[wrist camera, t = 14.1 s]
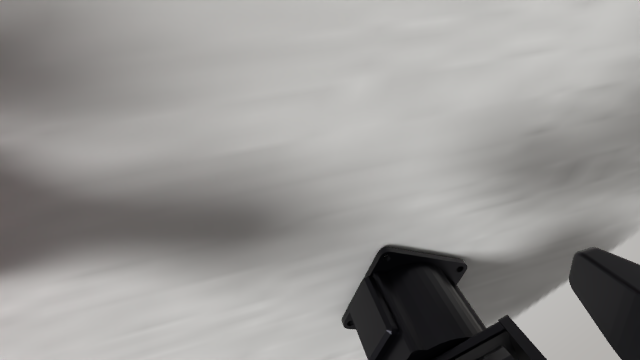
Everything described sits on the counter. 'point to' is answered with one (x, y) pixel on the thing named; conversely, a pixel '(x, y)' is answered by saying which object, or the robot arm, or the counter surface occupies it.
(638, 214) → the counter surface
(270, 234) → the counter surface
